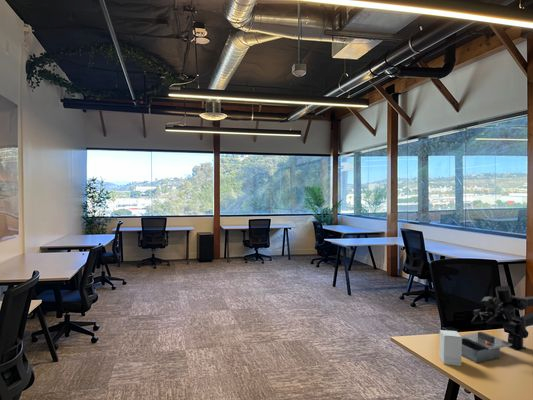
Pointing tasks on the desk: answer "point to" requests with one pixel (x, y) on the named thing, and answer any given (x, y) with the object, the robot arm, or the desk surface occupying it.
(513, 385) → the desk surface
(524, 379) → the desk surface
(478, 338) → the lid
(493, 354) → the grey open box
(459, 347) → the supplement box
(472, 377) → the desk surface
